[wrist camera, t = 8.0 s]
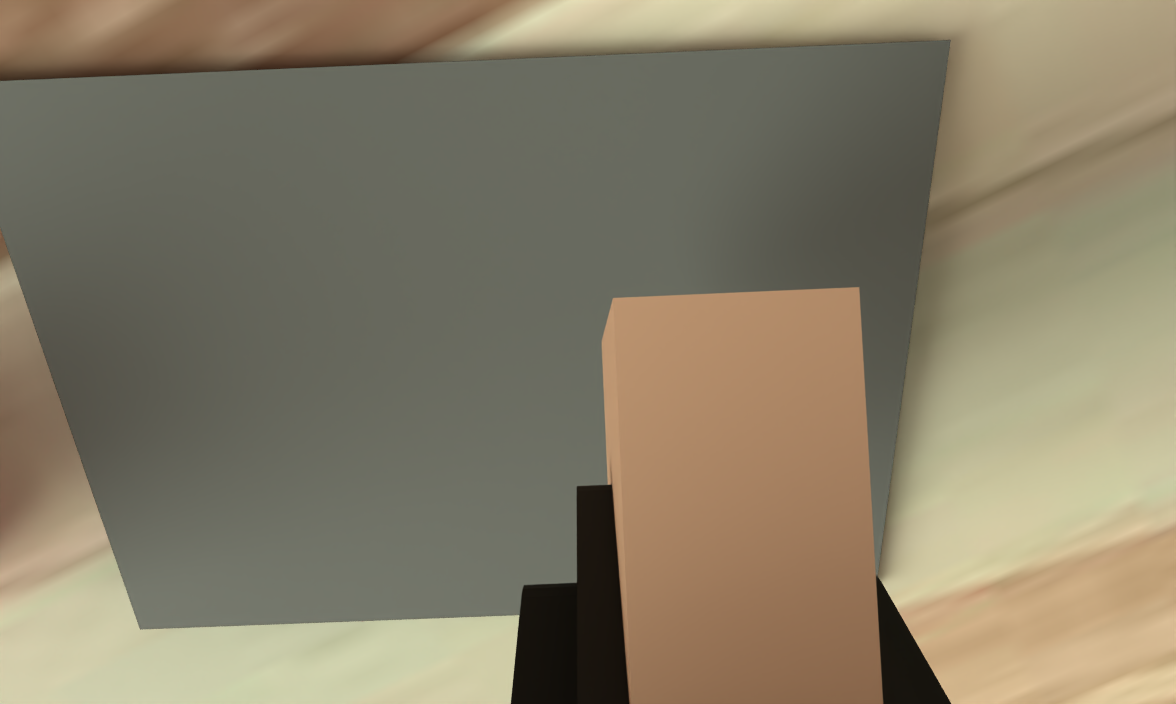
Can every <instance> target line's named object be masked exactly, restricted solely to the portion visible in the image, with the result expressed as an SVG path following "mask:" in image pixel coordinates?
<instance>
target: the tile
mask: <svg viewBox="0 0 1176 704" xmlns="http://www.w3.org/2000/svg"><path fill="white" fill-rule="evenodd" d="M602 364H603V387H604V410H605V432H606V455H607V477H608V485H612V491H613V504H614V517H615V529H616V542H617V554H618V567H619V580H620V592H621V605H622V617H623V630H624V643H625V655H626V668H627V680H628V693H629V704H883V693H882V676H881V658H880V641H879V623H878V606H877V588H876V571H875V554H874V536H873V519H872V501H871V484H870V467H869V449H868V432H867V414H866V397H865V379H864V362H863V345H862V327H861V310H860V292H859V287H851V288H828V289H806V290H783V291H760V292H737V293H715V294H692V295H669V296H646V297H624V298H613V300H612V304H611V308H610V311H609V315H608V319H607V323H606V326H605V330H604V334H603V338H602Z"/></svg>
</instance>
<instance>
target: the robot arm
mask: <svg viewBox="0 0 1176 704" xmlns="http://www.w3.org/2000/svg"><path fill="white" fill-rule="evenodd" d="M876 588H877V606H878V623H879V641H880V658H881V676H882V693H883V704H951V702H950V701H949V699H948V697H947V695H946V694H945V692H944V690H943V689H942V687H941V685H940V683H939V682H938V680H937V678H936V676H935V675H934V673H933V671H932V669H931V668H930V666H929V664H928V662H927V661H926V659H925V657H924V655H923V654H922V652H921V650H920V648H919V647H918V645H917V643H916V642H915V640H914V638H913V636H912V635H911V633H910V631H909V629H908V628H907V626H906V624H905V622H904V621H903V619H902V617H901V615H900V614H899V612H898V610H897V608H896V607H895V605H894V603H893V601H892V600H891V598H890V596H889V595H888V593H887V591H886V589H885V588H884V586H883V584H882V582H881V581H880V580H879V578H878V577H877V575H876ZM511 704H629V693H628V680H627V668H626V655H625V643H624V630H623V617H622V605H621V592H620V580H619V567H618V554H617V542H616V529H615V517H614V504H613V491H612V485H589V486H577V583H558V584H534V585H524V586H523V589H522V596H521V606H520V616H519V626H518V637H517V647H516V657H515V667H514V678H513V688H512V698H511Z"/></svg>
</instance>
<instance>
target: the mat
mask: <svg viewBox="0 0 1176 704" xmlns="http://www.w3.org/2000/svg"><path fill="white" fill-rule="evenodd" d="M950 41H951V40H941V41H917V42H894V43H871V44H848V45H825V46H801V47H778V48H755V49H732V50H709V51H685V52H662V53H639V54H616V55H593V56H569V57H546V58H523V59H500V60H477V61H453V62H430V63H407V64H384V65H361V66H337V67H314V68H291V69H268V70H245V71H222V72H198V73H175V74H152V75H129V76H106V77H82V78H59V79H36V80H13V81H0V228H1V231H2V234H3V237H4V240H5V243H6V246H7V249H8V251H9V254H10V257H11V260H12V263H13V266H14V269H15V272H16V274H17V277H18V280H19V283H20V286H21V289H22V292H23V294H24V297H25V300H26V303H27V306H28V309H29V312H30V315H31V317H32V320H33V323H34V326H35V329H36V332H37V335H38V338H39V340H40V343H41V346H42V349H43V352H44V355H45V358H46V361H47V363H48V366H49V369H50V372H51V375H52V378H53V381H54V384H55V386H56V389H57V392H58V395H59V398H60V401H61V404H62V407H63V409H64V412H65V415H66V418H67V421H68V424H69V427H70V429H71V432H72V435H73V438H74V441H75V444H76V447H77V450H78V452H79V455H80V458H81V461H82V464H83V467H84V470H85V473H86V475H87V478H88V481H89V484H90V487H91V490H92V493H93V496H94V498H95V501H96V504H97V507H98V510H99V513H100V516H101V519H102V521H103V524H104V527H105V530H106V533H107V536H108V539H109V541H110V544H111V547H112V550H113V553H114V556H115V559H116V562H117V564H118V567H119V570H120V573H121V576H122V579H123V582H124V585H125V587H126V590H127V593H128V596H129V599H130V602H131V605H132V608H133V610H134V613H135V616H136V619H137V622H138V625H139V628H140V629H164V628H190V627H217V626H243V625H270V624H296V623H322V622H349V621H375V620H402V619H428V618H455V617H481V616H507V615H520V606H521V596H522V589H523V586H524V585H534V584H558V583H577V486H589V485H608V477H607V455H606V432H605V410H604V387H603V364H602V338H603V334H604V330H605V326H606V323H607V319H608V315H609V311H610V308H611V304H612V300H613V298H624V297H646V296H669V295H692V294H715V293H737V292H760V291H783V290H806V289H828V288H851V287H859V292H860V310H861V327H862V345H863V362H864V379H865V397H866V414H867V432H868V449H869V467H870V484H871V501H872V519H873V536H874V554H875V571H876V575H877V576H878V569H879V562H880V554H881V547H882V540H883V532H884V525H885V518H886V510H887V503H888V496H889V488H890V481H891V474H892V466H893V459H894V452H895V444H896V437H897V430H898V422H899V415H900V408H901V400H902V393H903V386H904V378H905V371H906V364H907V356H908V349H909V342H910V334H911V327H912V320H913V312H914V305H915V298H916V290H917V283H918V275H919V268H920V261H921V253H922V246H923V239H924V231H925V224H926V217H927V209H928V202H929V195H930V187H931V180H932V173H933V165H934V158H935V151H936V143H937V136H938V129H939V121H940V114H941V107H942V99H943V92H944V85H945V77H946V70H947V63H948V55H949V48H950Z"/></svg>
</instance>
